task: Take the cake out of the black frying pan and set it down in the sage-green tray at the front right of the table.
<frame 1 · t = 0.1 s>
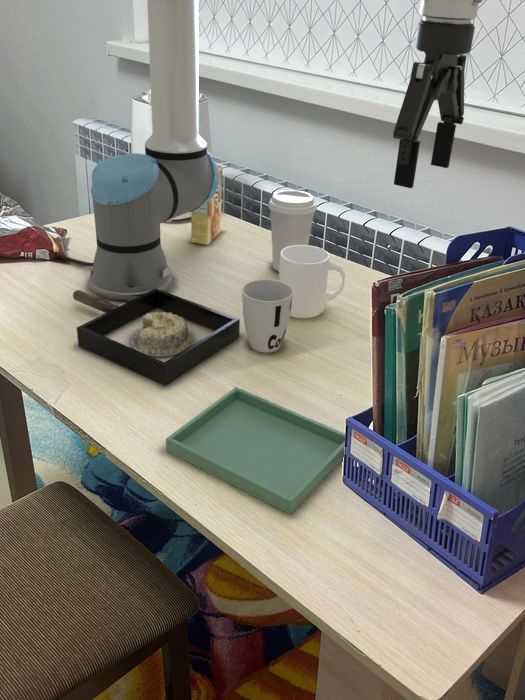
hand: (422, 175, 104), 28 cm above the table, tool pointing down, fingers open, 13 cm apart
candy box: (206, 238, 154), on the table
cup: (264, 345, 114), on the table
mug: (309, 309, 126), on the table
tray: (260, 449, 91), on the table
pan: (160, 341, 114), on the table
cake: (160, 342, 114), on the table
coffee cup: (288, 268, 142), on the table
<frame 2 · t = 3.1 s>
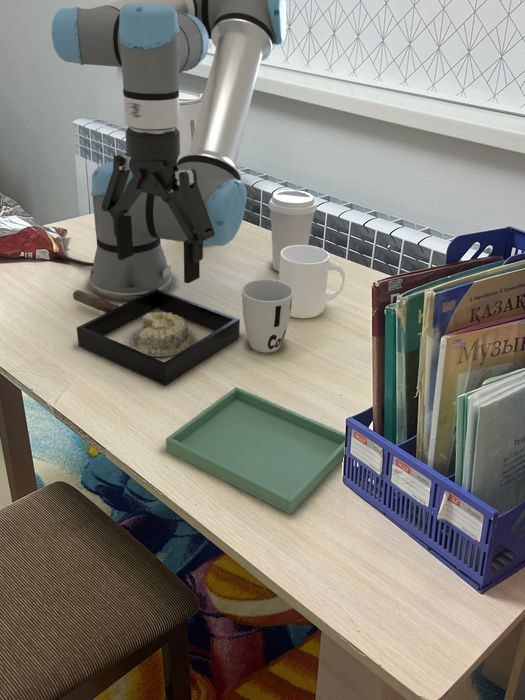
hand: (157, 268, 107), 13 cm above the table, tool pointing down, fingers open, 13 cm apart
nothing on the table moved.
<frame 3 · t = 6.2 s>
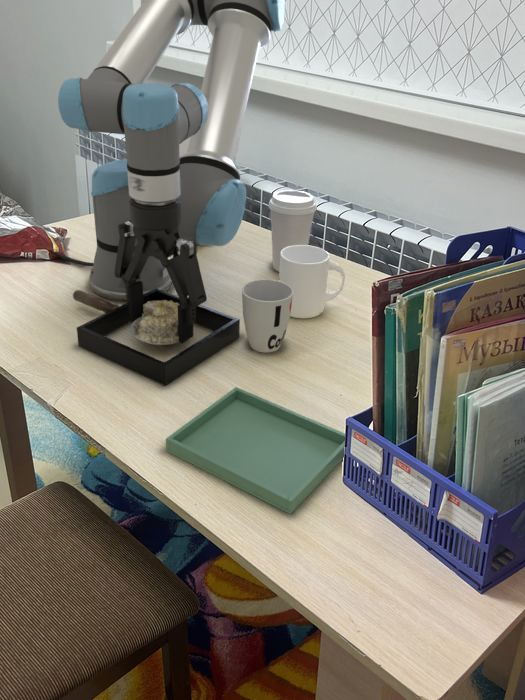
hand: (161, 328, 113), 2 cm above the table, tool pointing down, fingers closed on cake, 10 cm apart
cake: (161, 331, 113), point 2 cm above the table, touching gripper
everything else where it was.
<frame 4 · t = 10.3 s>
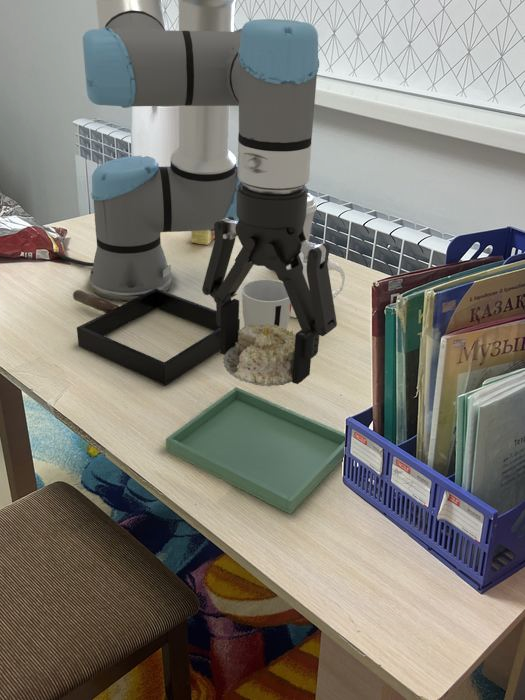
hand: (263, 363, 84), 13 cm above the table, tool pointing down, fingers closed on cake, 10 cm apart
cake: (263, 366, 84), point 13 cm above the table, touching gripper
everything else where it was.
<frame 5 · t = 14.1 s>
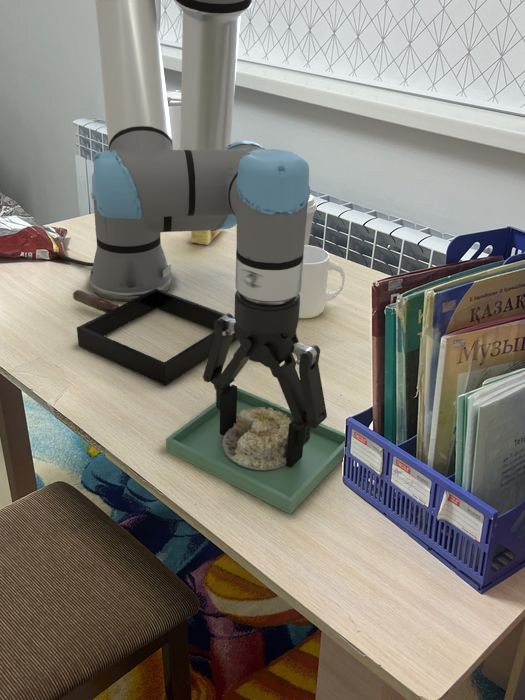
hand: (260, 445, 90), 1 cm above the table, tool pointing down, fingers closed on cake, 10 cm apart
cake: (260, 447, 91), on the table, touching gripper
everything else where it was.
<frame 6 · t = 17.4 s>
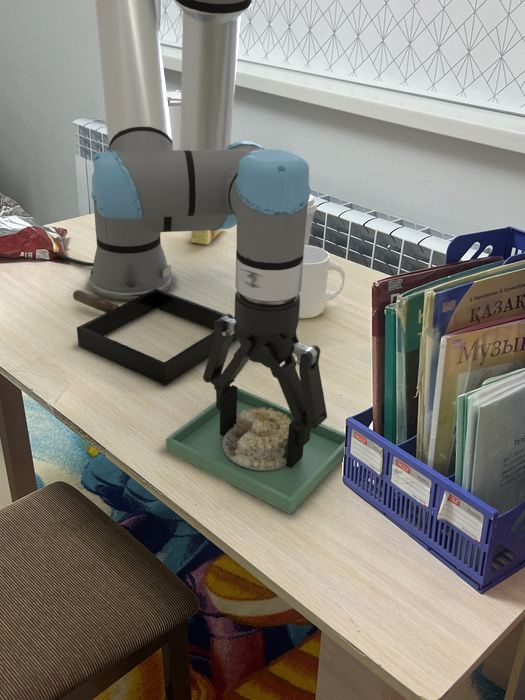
hand: (260, 445, 90), 1 cm above the table, tool pointing down, fingers closed on cake, 10 cm apart
cake: (260, 447, 91), on the table, touching gripper
everything else where it was.
when the fingers open (1 cm above the table, at t = 20.3 s): cake stays where it is, resting on tray.
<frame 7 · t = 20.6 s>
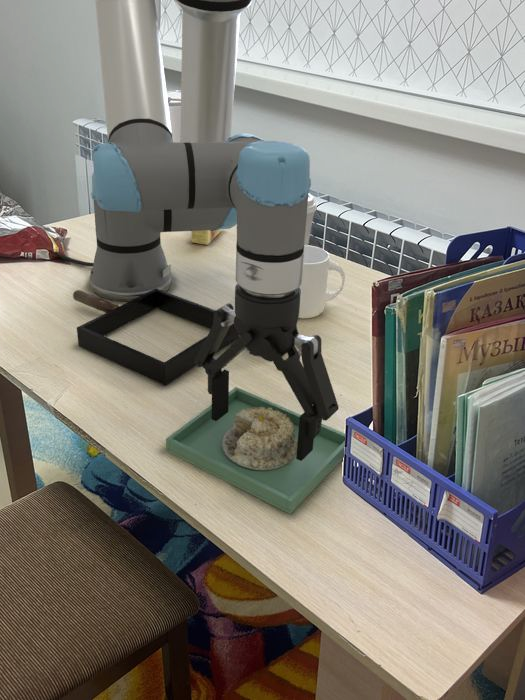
hand: (260, 434, 89), 3 cm above the table, tool pointing down, fingers open, 13 cm apart
cake: (259, 447, 91), resting on tray
everything else where it was.
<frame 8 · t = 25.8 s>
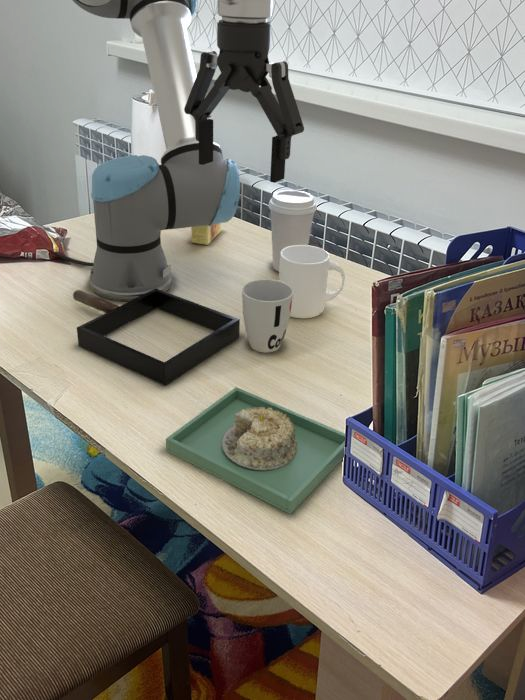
hand: (240, 171, 107), 27 cm above the table, tool pointing down, fingers open, 13 cm apart
nothing on the table moved.
at the end: cake inside the target area on the tray (0.1 cm from its centre), point 0.3 cm above the tray's base; the gripper is holding nothing; cake moved 31.6 cm from its start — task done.
